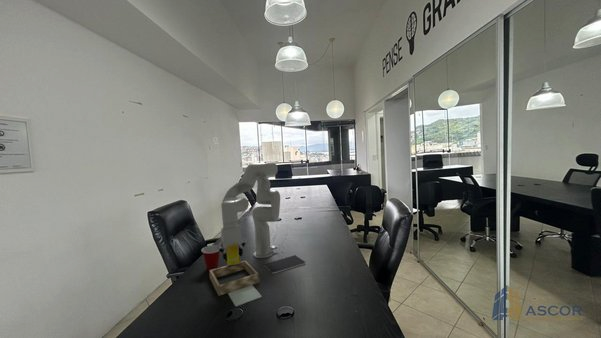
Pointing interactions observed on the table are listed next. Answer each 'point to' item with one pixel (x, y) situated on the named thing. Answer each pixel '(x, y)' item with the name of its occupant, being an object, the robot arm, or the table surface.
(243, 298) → the mat
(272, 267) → the notebook
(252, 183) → the robot arm
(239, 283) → the wooden frame
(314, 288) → the table surface
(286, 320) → the table surface
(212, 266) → the plastic cup
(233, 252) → the supplement box
